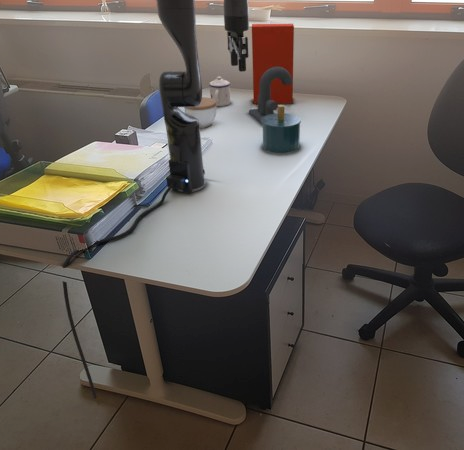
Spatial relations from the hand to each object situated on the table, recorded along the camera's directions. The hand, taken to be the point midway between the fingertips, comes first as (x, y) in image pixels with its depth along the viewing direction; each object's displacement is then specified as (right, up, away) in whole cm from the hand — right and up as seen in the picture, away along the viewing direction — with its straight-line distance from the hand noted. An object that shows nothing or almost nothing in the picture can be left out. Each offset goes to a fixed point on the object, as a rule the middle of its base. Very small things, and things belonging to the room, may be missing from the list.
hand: (238, 68), depth 150 cm
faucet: (+12, -6, +41) cm, 44 cm away
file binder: (+12, +5, +60) cm, 61 cm away
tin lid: (+14, -15, +9) cm, 22 cm away
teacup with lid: (-12, +3, +57) cm, 58 cm away
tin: (+14, -23, +14) cm, 30 cm away
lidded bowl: (-17, -11, +35) cm, 40 cm away
